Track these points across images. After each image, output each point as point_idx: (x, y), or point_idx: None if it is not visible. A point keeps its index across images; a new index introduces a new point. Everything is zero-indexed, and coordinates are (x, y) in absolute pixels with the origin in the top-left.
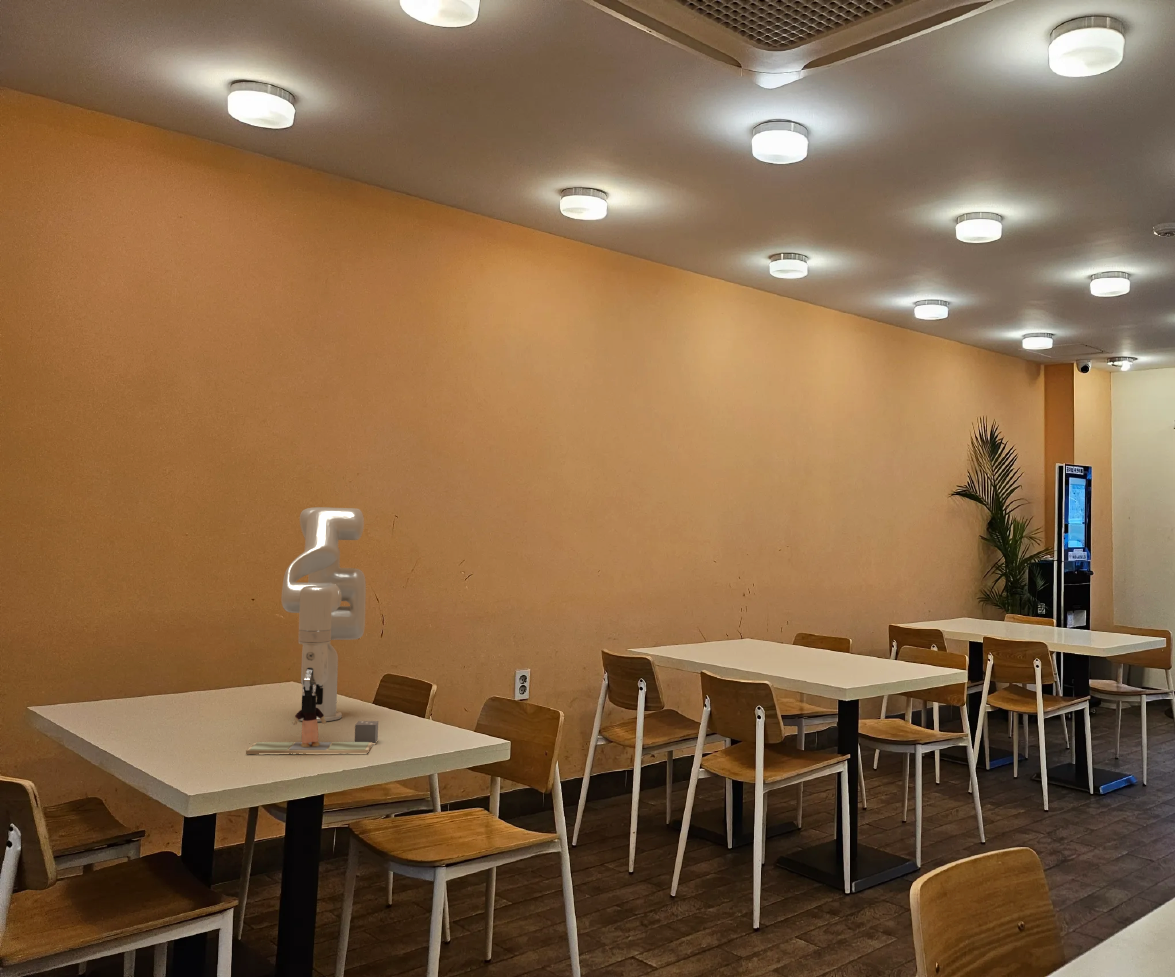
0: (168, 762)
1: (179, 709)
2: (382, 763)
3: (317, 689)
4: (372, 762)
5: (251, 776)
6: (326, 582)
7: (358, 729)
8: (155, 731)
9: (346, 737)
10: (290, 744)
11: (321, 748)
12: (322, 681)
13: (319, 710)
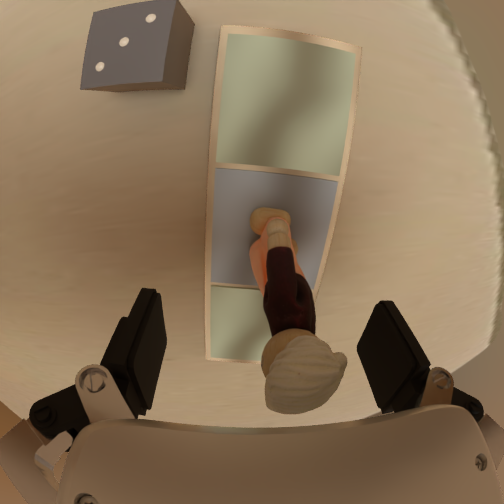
0: (318, 418)
1: (13, 392)
2: (454, 47)
3: (141, 383)
4: (445, 64)
5: (461, 312)
6: None
7: (170, 69)
8: None
9: (73, 140)
10: (244, 292)
11: (324, 198)
12: (455, 428)
13: (294, 284)
